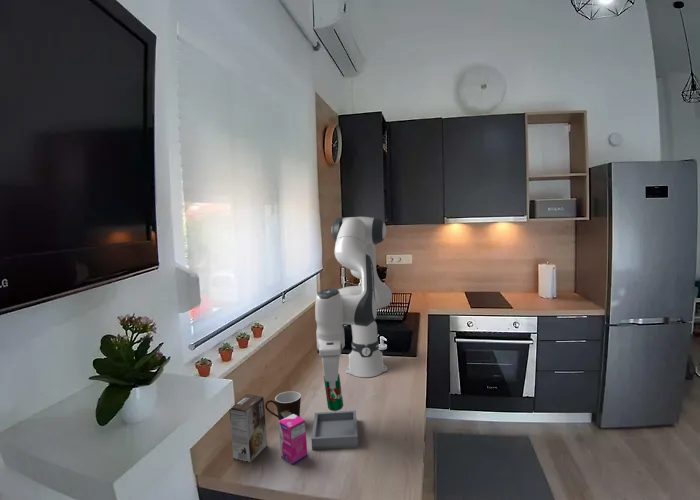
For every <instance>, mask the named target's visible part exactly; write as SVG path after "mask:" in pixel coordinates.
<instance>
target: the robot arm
mask: <svg viewBox="0 0 700 500" xmlns="http://www.w3.org/2000/svg"><path fill="white" fill-rule="evenodd" d="M331 235H332V239H333V240H334V241H335V243H334V244H335V245H334V257H335V259H336V261H337V262H338V263H339V264H340V265H341V266H343V267H344V268H345V269H348V270H349V271H350V274H351V276H353V277H354V278H357V279H359V280H361V285H352V286H351V285H350V286H345V287H341V288H338V289H337V288H326V289H321V290H320V291H318V292H317V293H316V294H315V295H316V296H315V306H314V315H315V322H316V333H315V334H316V335H315V336H316V348H317V350H318V353H319V356H320V357H321V363H322V369H323V378H324V377H325V380H326V381H327V382H329V383H330V388H331V389H334V388H335V387H336V383H335V381H337V379H338V373H339V366H340V365H339V364H340V356H341V355H342V351H343V350H344V348H345V346H346V344H345V341H346V340H345V337H346V336H345V329H344V325H350V327H351V335H352V340H351V352H350V353H348V364H347V367H346V368H345V371H344V372H345V373H346V374H349V375H351V376H355V377H357V378H371V377H372V378H373V377H377V376H379V375H382V373H385V372H388V367H387V366H386V365H385V363H384V358H383V357H384V356H383V355H384V354H383V352H382V351H381V350H380V349H379V348H380V347H379V345H380V343H379V339H378V324H377V322H376V319H377V313H378V310H379V309H382V308H386V307H388V306H389V305H390V304H391V302H392V299H393V294H392V291H391V289H390V287H389V286H388V285H387V284H385V283H383V282H382V280H381V279H380V277H379V275H378V272H377V259H376V258H377V254H376V245H378V244H381V243H382V242H383V241H384V240H385V237H386V235H387V227H386V223H385V221H384V220H383V219H382V218H379V217H369V216H350V217H349V216H348V217H344V216H341V217H337V218H335V220H334V221H333V222H332V225H331Z"/></svg>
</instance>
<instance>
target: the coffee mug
mask: <svg viewBox="0 0 700 500" xmlns="http://www.w3.org/2000/svg"><path fill="white" fill-rule="evenodd" d="M301 400H302V396H301V393H300V392H298V391H295V390H294V391H293V390H292V391H291V390H290V391H284V392H280V393H279V394H277V395H276V396H275V398H274V400H272V399H269V400H268V401H266V402H265V403H264V408H265V409H266V410H267V412H269V414H271V415H272V416H274V417H276V418H277V419H278V422H279V421H280V420H282V419H284V418H286V417H288V416H290V415H292V414H295V415H297V416H298V417H300V415H301ZM269 403H273V404H274V405H275V406H276V412H277V414H276V413H275V412H273V411H271V409H269V408H268V404H269ZM300 418H301V417H300Z"/></svg>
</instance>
